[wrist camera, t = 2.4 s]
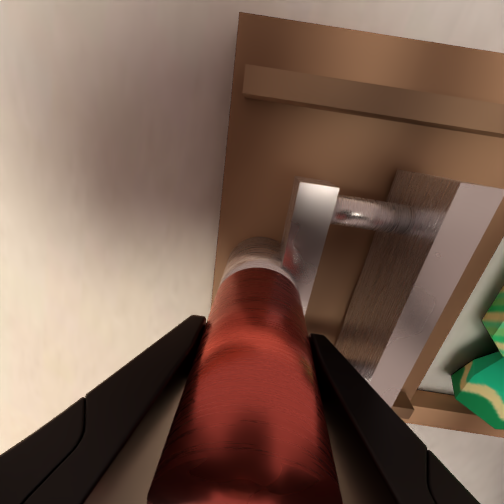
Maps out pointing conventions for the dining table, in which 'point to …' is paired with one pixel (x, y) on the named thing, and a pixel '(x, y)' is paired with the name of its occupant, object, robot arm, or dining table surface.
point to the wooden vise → (359, 157)
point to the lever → (297, 341)
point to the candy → (485, 373)
